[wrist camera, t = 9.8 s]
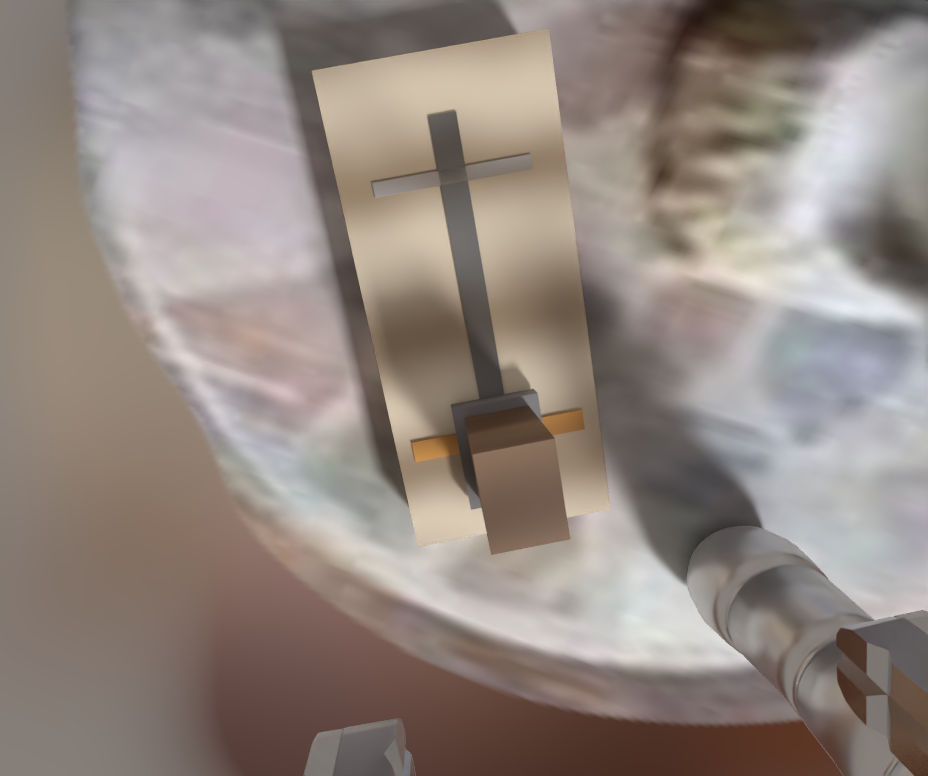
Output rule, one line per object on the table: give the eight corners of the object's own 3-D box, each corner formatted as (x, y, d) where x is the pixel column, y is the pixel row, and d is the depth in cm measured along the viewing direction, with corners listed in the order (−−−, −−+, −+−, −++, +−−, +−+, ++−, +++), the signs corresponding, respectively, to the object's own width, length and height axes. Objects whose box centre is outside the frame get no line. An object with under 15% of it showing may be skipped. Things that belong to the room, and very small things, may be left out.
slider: (450, 404, 23) (456, 444, 17) (533, 388, 23) (566, 422, 17) (469, 500, 24) (480, 569, 18) (548, 485, 24) (584, 548, 18)
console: (327, 98, 23) (310, 69, 20) (534, 61, 23) (549, 26, 20) (420, 519, 28) (418, 548, 25) (592, 485, 28) (611, 509, 25)
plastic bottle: (740, 625, 30) (1299, 1243, 11) (651, 583, 29) (1085, 1176, 10) (800, 540, 29) (1535, 1048, 10) (709, 493, 28) (1323, 952, 9)
